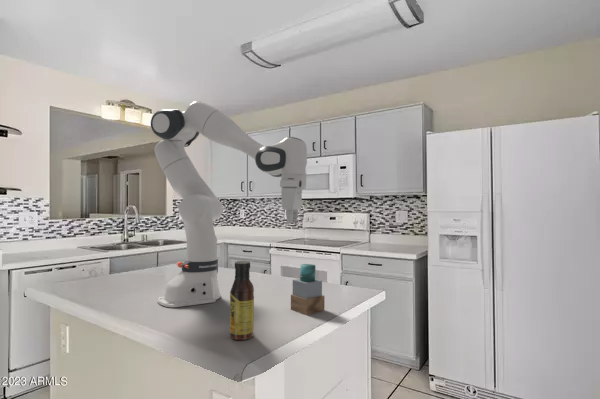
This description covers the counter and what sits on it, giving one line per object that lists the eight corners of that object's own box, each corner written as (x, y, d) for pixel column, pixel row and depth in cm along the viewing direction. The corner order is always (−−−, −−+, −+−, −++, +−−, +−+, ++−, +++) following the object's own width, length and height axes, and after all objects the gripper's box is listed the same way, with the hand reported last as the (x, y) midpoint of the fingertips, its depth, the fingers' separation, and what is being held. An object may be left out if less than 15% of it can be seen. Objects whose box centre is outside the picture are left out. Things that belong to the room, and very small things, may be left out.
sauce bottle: (231, 333, 97) (231, 259, 97) (254, 332, 97) (254, 259, 98) (228, 342, 90) (228, 263, 91) (253, 341, 91) (253, 263, 91)
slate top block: (305, 299, 114) (305, 283, 114) (292, 294, 120) (292, 279, 120) (321, 295, 119) (322, 280, 119) (308, 291, 124) (308, 277, 124)
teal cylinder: (307, 282, 116) (307, 267, 116) (297, 279, 119) (297, 264, 119) (318, 280, 119) (318, 265, 119) (308, 278, 123) (308, 263, 123)
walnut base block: (306, 315, 113) (306, 299, 114) (290, 309, 120) (290, 294, 120) (324, 310, 119) (324, 295, 119) (308, 305, 125) (308, 291, 125)
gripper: (290, 185, 137) (288, 221, 136) (278, 181, 116) (277, 223, 116) (306, 185, 136) (304, 221, 135) (298, 181, 115) (296, 224, 115)
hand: (291, 222), depth 126 cm, fingers open, 8 cm apart
